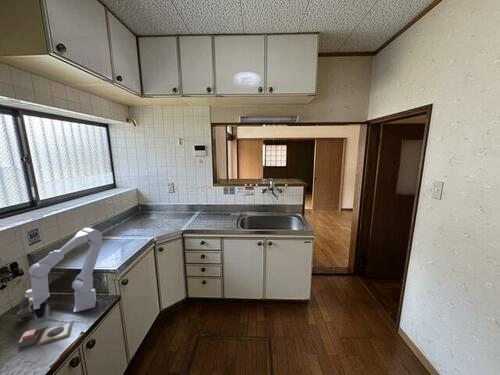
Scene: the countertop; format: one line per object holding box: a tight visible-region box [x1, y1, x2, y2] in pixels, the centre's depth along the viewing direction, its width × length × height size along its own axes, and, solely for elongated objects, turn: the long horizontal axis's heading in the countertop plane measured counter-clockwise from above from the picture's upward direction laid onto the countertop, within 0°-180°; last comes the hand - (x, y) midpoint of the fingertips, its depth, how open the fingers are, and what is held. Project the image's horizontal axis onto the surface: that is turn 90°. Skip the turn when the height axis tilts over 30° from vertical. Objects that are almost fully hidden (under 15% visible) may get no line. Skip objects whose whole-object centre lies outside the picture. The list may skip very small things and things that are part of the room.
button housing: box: [18, 328, 41, 349], centre depth 97 cm, size 6×6×3 cm
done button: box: [21, 328, 37, 340], centre depth 97 cm, size 4×4×2 cm
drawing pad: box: [36, 321, 74, 347], centre depth 101 cm, size 11×10×1 cm
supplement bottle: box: [24, 288, 33, 308], centre depth 119 cm, size 5×5×10 cm
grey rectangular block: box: [34, 300, 50, 325], centre depth 105 cm, size 4×4×9 cm
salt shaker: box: [16, 295, 34, 322], centre depth 110 cm, size 6×6×12 cm
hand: (42, 314), depth 105 cm, fingers closed on grey rectangular block, 4 cm apart
